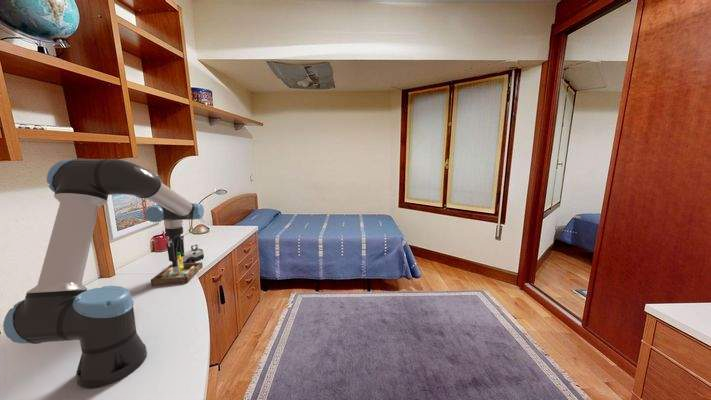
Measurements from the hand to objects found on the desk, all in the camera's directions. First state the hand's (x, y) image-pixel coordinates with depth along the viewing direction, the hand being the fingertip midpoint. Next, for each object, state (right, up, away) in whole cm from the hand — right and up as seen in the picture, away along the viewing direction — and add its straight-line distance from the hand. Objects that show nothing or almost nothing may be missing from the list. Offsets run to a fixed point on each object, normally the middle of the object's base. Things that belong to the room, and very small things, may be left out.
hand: (178, 270), depth 135 cm
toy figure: (-1, -2, 0) cm, 3 cm away
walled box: (0, -3, 0) cm, 3 cm away
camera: (-5, -1, +19) cm, 19 cm away
